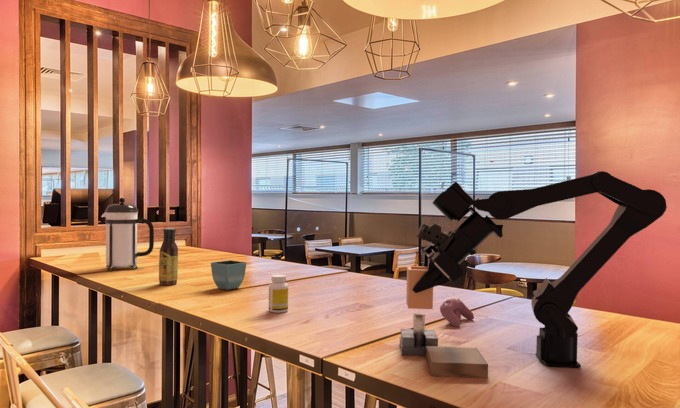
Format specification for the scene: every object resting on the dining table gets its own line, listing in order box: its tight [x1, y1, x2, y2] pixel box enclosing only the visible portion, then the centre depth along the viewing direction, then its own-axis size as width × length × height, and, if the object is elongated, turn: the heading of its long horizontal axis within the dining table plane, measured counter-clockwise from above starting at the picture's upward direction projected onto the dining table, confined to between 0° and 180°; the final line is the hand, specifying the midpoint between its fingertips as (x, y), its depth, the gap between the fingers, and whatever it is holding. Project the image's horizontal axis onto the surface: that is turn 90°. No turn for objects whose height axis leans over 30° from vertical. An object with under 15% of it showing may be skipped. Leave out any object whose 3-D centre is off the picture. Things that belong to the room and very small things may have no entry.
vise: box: [399, 312, 439, 357], centre depth 99 cm, size 8×7×8 cm
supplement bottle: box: [268, 274, 289, 314], centre depth 130 cm, size 5×5×10 cm
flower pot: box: [210, 259, 247, 291], centre depth 160 cm, size 9×9×9 cm
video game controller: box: [439, 298, 475, 328], centre depth 121 cm, size 10×5×7 cm, turn 141°
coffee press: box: [101, 197, 155, 272], centre depth 198 cm, size 17×16×30 cm
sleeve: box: [405, 265, 434, 310], centre depth 98 cm, size 5×5×8 cm
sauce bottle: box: [158, 227, 179, 286], centre depth 165 cm, size 7×6×20 cm
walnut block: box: [425, 345, 489, 379], centre depth 89 cm, size 10×9×2 cm
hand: (412, 288), depth 98 cm, fingers closed on sleeve, 5 cm apart
